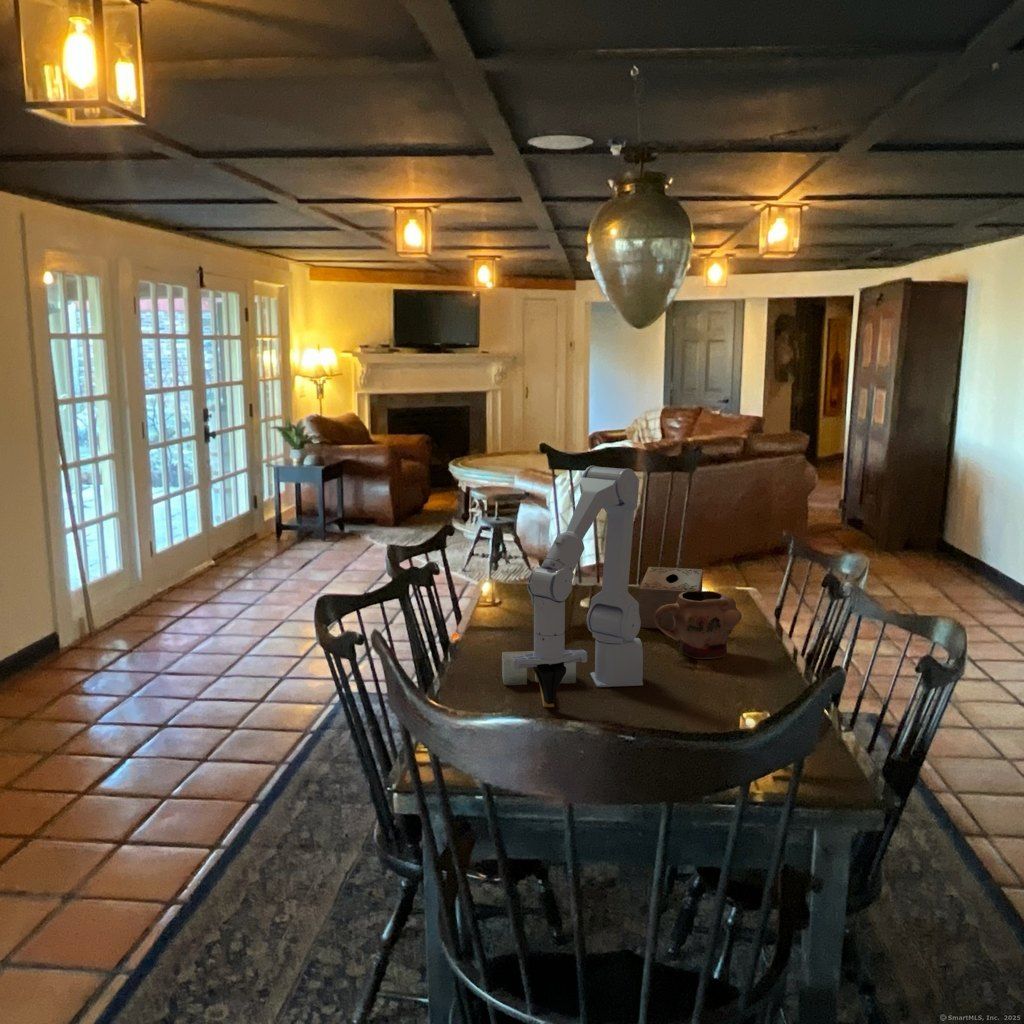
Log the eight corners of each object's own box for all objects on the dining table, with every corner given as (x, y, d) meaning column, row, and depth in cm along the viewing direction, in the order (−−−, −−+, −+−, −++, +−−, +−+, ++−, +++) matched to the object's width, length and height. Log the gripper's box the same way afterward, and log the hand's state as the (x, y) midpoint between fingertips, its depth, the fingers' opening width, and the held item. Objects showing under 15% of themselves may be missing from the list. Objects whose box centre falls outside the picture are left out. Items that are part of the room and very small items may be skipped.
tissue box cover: (697, 631, 224) (698, 591, 222) (638, 628, 227) (638, 588, 226) (701, 605, 249) (702, 569, 247) (647, 602, 252) (648, 566, 250)
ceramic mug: (667, 667, 197) (668, 604, 195) (644, 650, 208) (645, 590, 206) (751, 659, 202) (753, 597, 200) (724, 643, 214) (725, 584, 211)
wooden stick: (557, 707, 174) (557, 691, 174) (540, 707, 174) (540, 692, 173) (550, 677, 191) (550, 663, 190) (535, 677, 191) (535, 663, 190)
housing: (571, 674, 192) (572, 649, 191) (575, 682, 187) (575, 657, 186) (502, 677, 191) (502, 652, 190) (504, 685, 186) (504, 659, 185)
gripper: (576, 622, 177) (576, 690, 179) (505, 629, 172) (505, 699, 174) (592, 632, 170) (591, 702, 172) (517, 640, 165) (518, 712, 167)
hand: (549, 702), depth 173 cm, fingers closed
